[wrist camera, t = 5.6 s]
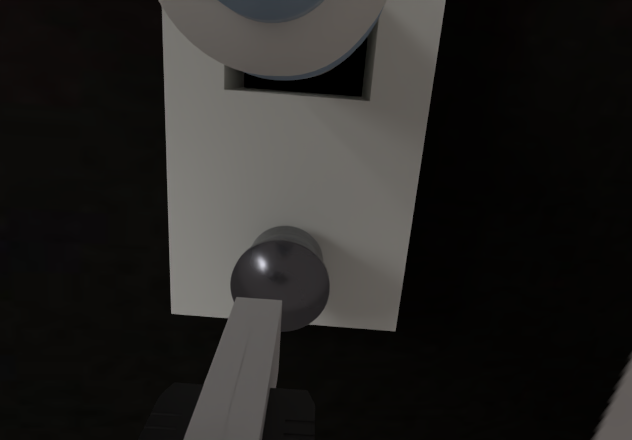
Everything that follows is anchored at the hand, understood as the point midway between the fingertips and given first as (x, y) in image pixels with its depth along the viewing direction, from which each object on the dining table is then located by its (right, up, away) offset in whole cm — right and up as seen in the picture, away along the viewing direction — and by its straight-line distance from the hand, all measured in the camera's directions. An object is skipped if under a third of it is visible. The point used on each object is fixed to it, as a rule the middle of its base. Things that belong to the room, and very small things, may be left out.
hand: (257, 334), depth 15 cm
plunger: (0, +2, +7) cm, 7 cm away
